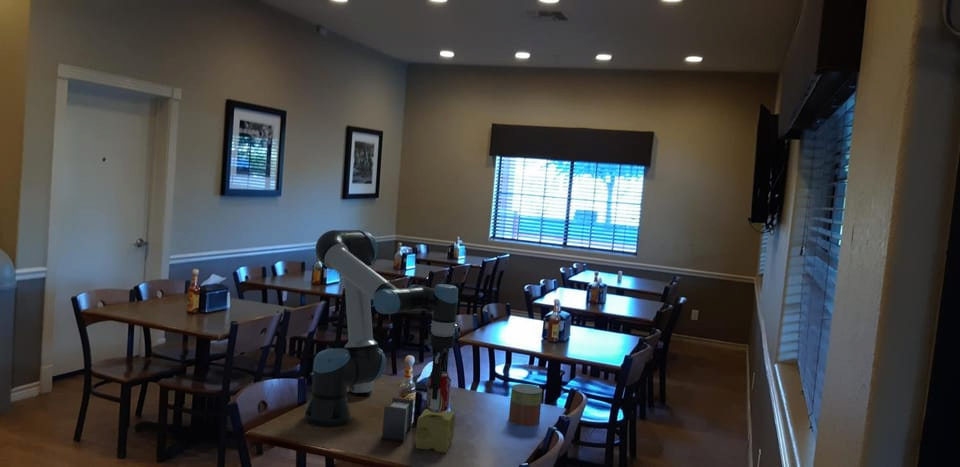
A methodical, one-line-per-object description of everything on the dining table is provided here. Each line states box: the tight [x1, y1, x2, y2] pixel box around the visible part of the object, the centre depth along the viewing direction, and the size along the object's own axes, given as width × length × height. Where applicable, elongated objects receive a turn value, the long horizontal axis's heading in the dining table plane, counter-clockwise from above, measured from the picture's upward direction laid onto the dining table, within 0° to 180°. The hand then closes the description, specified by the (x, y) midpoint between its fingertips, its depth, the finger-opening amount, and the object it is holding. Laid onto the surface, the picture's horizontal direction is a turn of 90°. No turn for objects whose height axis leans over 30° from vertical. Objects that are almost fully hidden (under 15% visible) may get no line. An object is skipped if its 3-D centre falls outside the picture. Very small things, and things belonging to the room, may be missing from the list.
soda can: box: [425, 371, 451, 413], centre depth 218 cm, size 7×7×12 cm
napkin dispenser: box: [381, 396, 414, 444], centre depth 224 cm, size 10×7×11 cm
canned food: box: [508, 383, 544, 428], centre depth 249 cm, size 11×11×12 cm
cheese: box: [415, 408, 456, 454], centre depth 219 cm, size 10×11×10 cm
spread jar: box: [347, 381, 375, 397], centre depth 264 cm, size 12×11×12 cm
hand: (436, 404), depth 219 cm, fingers open, 7 cm apart
